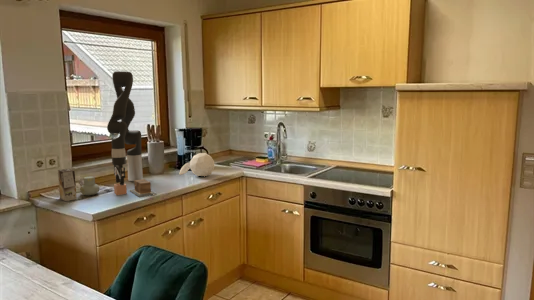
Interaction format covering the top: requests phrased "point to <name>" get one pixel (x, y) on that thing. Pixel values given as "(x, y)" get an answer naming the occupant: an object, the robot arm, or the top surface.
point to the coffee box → (67, 184)
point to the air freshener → (89, 186)
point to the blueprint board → (141, 194)
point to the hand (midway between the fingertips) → (120, 183)
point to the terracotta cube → (120, 189)
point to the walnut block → (142, 186)
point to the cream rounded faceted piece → (199, 165)
